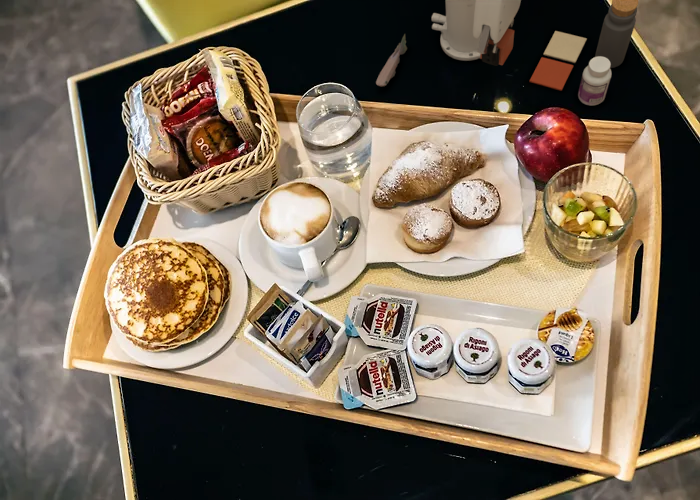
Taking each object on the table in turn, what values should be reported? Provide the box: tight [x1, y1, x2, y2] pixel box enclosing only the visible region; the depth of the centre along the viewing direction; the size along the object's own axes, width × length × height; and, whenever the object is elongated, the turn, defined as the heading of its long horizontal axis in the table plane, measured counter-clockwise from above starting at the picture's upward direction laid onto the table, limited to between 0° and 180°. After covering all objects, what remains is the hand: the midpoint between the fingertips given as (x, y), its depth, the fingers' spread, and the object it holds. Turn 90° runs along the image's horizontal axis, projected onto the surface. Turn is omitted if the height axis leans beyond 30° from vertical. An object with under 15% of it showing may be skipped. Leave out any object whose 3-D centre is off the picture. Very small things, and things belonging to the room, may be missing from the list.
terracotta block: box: [479, 28, 515, 66], centre depth 111 cm, size 4×4×4 cm
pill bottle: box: [577, 56, 612, 106], centre depth 121 cm, size 5×5×10 cm
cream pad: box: [543, 30, 588, 64], centre depth 132 cm, size 7×7×1 cm
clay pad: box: [529, 56, 574, 92], centre depth 129 cm, size 7×7×1 cm
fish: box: [375, 33, 408, 87], centre depth 135 cm, size 3×14×5 cm, turn 153°
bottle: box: [594, 0, 639, 69], centre depth 122 cm, size 6×6×15 cm
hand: (496, 51), depth 113 cm, fingers closed on terracotta block, 4 cm apart
